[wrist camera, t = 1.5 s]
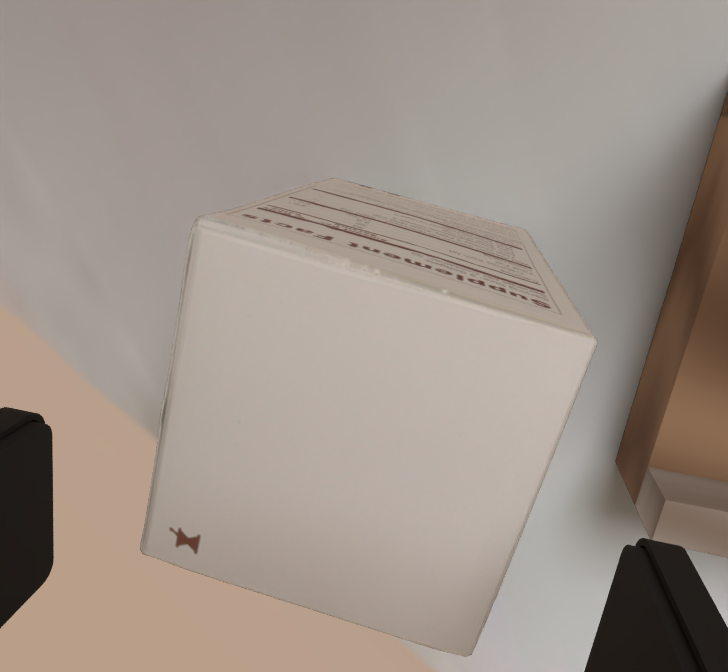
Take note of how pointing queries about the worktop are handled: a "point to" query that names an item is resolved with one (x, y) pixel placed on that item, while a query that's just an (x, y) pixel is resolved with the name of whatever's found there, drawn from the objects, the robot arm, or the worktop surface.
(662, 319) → the wall shelf
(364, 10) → the worktop surface
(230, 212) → the supplement box
